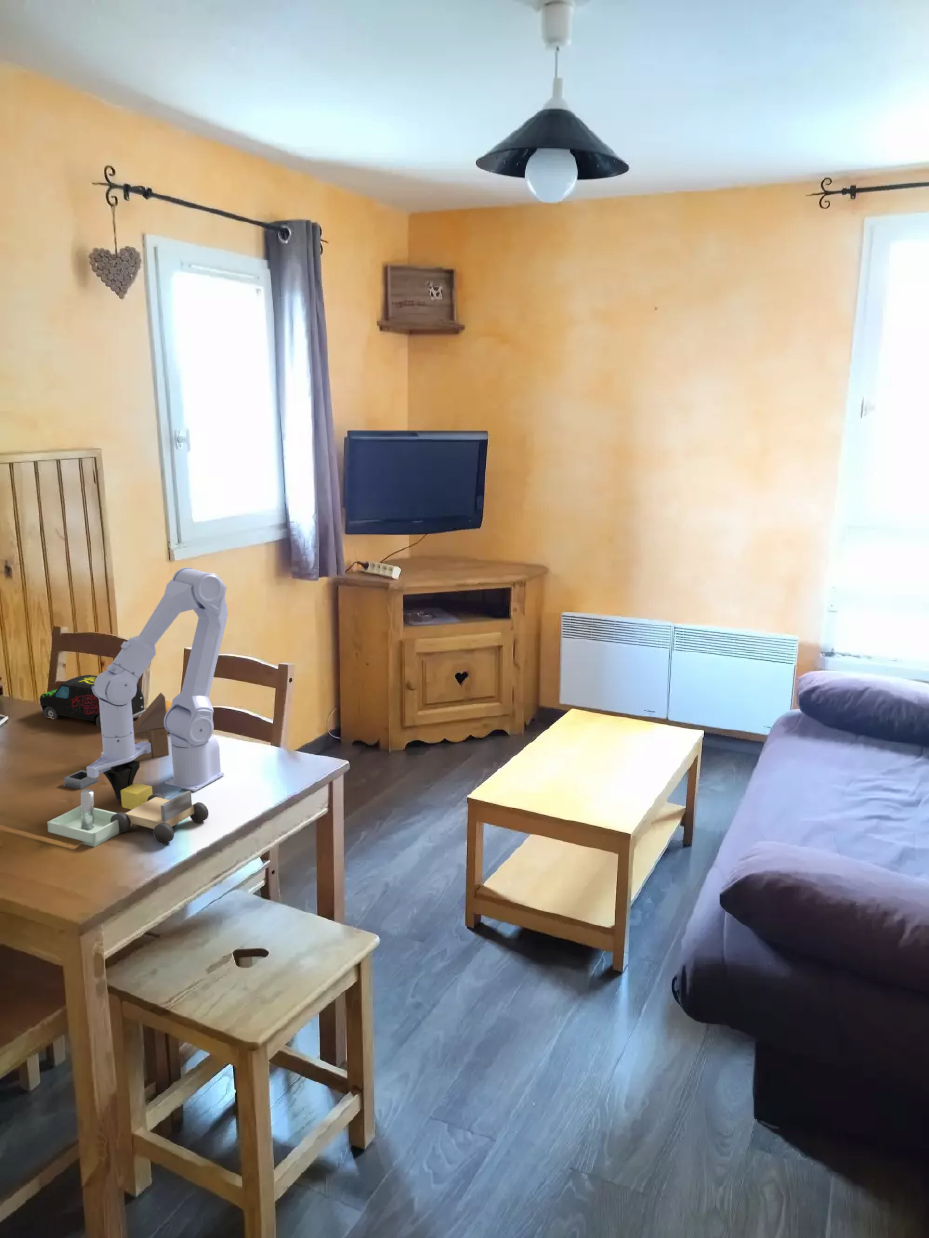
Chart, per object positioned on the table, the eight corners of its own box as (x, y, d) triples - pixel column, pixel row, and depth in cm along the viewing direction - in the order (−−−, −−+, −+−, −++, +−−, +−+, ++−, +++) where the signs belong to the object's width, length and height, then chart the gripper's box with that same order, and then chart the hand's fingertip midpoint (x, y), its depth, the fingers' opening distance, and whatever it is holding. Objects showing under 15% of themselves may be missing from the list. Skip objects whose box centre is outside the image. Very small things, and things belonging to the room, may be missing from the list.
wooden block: (169, 757, 196) (164, 679, 192) (118, 767, 190) (111, 687, 186) (165, 752, 199) (160, 675, 195) (115, 761, 193) (108, 682, 189)
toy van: (71, 705, 230) (67, 668, 228) (148, 717, 222) (145, 679, 219) (38, 718, 221) (34, 679, 218) (117, 731, 212) (114, 691, 210)
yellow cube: (137, 801, 174) (136, 782, 173) (153, 805, 172) (151, 786, 171) (122, 809, 170) (120, 790, 169) (138, 813, 169) (136, 794, 168)
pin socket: (82, 779, 184) (81, 769, 183) (100, 783, 182) (99, 773, 182) (62, 788, 180) (61, 777, 179) (81, 792, 178) (80, 782, 177)
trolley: (152, 808, 171) (149, 777, 169) (208, 822, 165) (207, 790, 164) (111, 831, 161) (108, 798, 160) (170, 846, 156) (167, 812, 155)
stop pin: (87, 823, 163) (87, 788, 161) (96, 826, 162) (96, 790, 160) (78, 828, 161) (77, 792, 159) (87, 831, 160) (87, 795, 158)
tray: (83, 816, 167) (82, 804, 166) (128, 828, 163) (127, 815, 162) (48, 834, 160) (47, 821, 159) (94, 846, 156) (93, 833, 155)
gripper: (129, 718, 177) (134, 781, 181) (72, 741, 165) (78, 809, 168) (157, 723, 175) (161, 787, 178) (100, 747, 162) (106, 816, 165)
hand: (123, 798), depth 173 cm, fingers closed, pressing on yellow cube
